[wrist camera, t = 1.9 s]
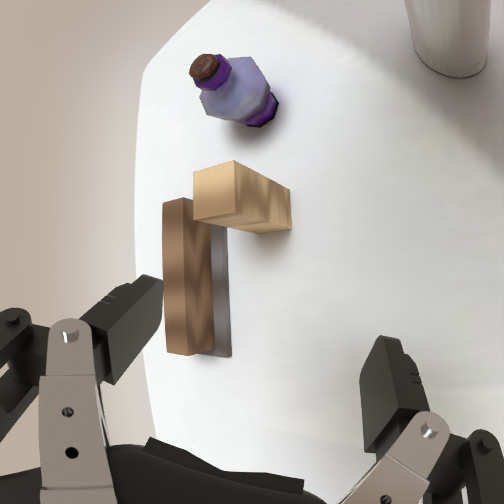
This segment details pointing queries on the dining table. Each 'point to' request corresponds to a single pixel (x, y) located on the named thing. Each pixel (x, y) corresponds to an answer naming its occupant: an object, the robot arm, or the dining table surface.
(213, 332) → the chalkboard eraser
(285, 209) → the wooden block
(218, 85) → the potion bottle
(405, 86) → the dining table surface
